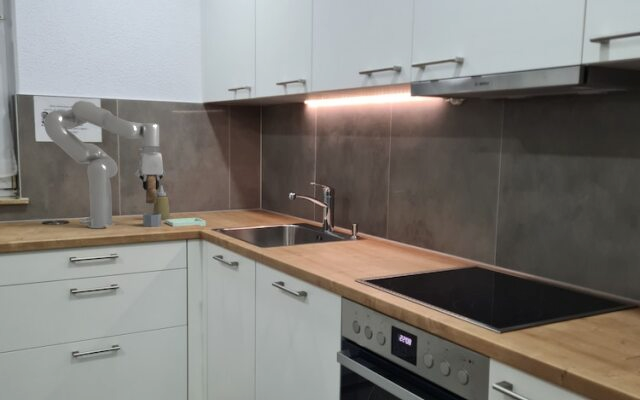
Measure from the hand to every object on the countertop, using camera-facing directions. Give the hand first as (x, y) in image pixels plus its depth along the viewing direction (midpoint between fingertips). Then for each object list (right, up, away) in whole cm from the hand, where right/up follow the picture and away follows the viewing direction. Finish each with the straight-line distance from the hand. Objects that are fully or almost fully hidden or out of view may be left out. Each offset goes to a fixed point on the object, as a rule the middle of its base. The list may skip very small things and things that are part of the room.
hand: (150, 189), depth 270 cm
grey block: (0, -18, +2) cm, 18 cm away
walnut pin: (0, -6, +1) cm, 6 cm away
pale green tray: (+14, -17, +10) cm, 24 cm away
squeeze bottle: (-1, -16, +23) cm, 28 cm away
